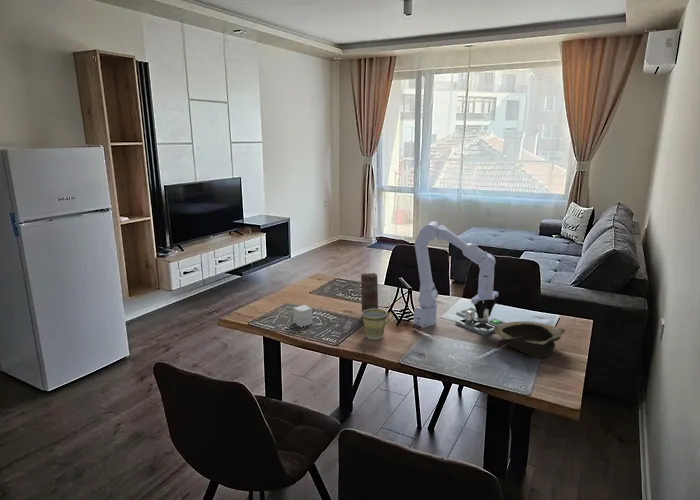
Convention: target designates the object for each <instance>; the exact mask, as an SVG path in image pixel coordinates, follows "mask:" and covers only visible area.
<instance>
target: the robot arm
mask: <svg viewBox="0 0 700 500" xmlns="http://www.w3.org/2000/svg"><path fill="white" fill-rule="evenodd" d="M434 239H436V240H438V241H441V240H446V241H447V242H449V243H450V244H451V245H452V246H455V247H456V248H458V249H460V250H461V251H462V255H463V256H464V257H466V258H467V259H469V260H470V261H471V262H473V263H474V264H475V265H478V268H479V273H478V286H477V287H478V289H477V294H476V295H474V297H472V298H471V301H470V302H471V304H473V306H474V308H476V311H477V312H476V317H477V316H478V318H481V319H483V316H484V310H485V307H488V308H489V314H488V317H491V315H492V312H493V309H494V307H495V306H496V303H498V299H497V298H498V297H499V291H496V290H494V283H495V282H494V281H495V279H494V278H495V265H496V258H495V256H494V255H493V254H491V253H488V252H487V251H484V250H482V248H480V247H478V244H477V243H472V242H466V241H464V239H462V238H461V237H459V236H458V235H456V234H455V233H454V232H453V231H451V230H450V229H448V227H446V226H445V225H444V224H441V223H439V222H438V221H436V220H432V221H430V222H428V223H427V224H425V225H423V227H422V228H421V229H420V230H419V232H418V235H417V236H416V239H415V241H414V249H415V250H414V251H415V255H416V257H415V258H416V262H417V269H418V276H419V282H420V283H419V284H420V285H419V296H418V303H419V305H418V306H417V307H415V308H414V309H413V324H414V325H416V326H418V327H421V328H427V327H431V326H434V325H437V311H438V310H437V307H438V306H437V305H438V303H437V302H436V299H437V298H438V297H439V292H438V290H437V288H436V287H435V283H434V281H433V277H432V270H431V269H432V268H431V261H430V256H429V255H430V254H429V247H428V245H429V244H430V243H431V241H433V240H434Z"/></svg>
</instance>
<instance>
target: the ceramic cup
mask: <svg viewBox="0 0 700 500" xmlns="http://www.w3.org/2000/svg"><path fill="white" fill-rule="evenodd" d="M389 315H390V316H391V315H392V317H391V318H390V319H388V316H389ZM361 316H362V321H363V326H364V331H365V336H366V337H367V339H370V340H373V341H375V340H381V339H382V338H383V336H384V332H385V327H386V325H387V324H389V322H391V321H392V320H393V319H394V313H393V312H387V311H386V310H385V309H380V308H378V309H367V310H364V311H363V312H362V311H361ZM387 319H388V320H387Z"/></svg>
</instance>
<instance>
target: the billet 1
mask: <svg viewBox="0 0 700 500" xmlns="http://www.w3.org/2000/svg"><path fill="white" fill-rule="evenodd" d="M464 314H465V317H464V318H465V323H466V324H468V325H473V324H474V322H475V317H476V312H475V311H474V310H465V312H464Z"/></svg>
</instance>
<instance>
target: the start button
mask: <svg viewBox="0 0 700 500" xmlns="http://www.w3.org/2000/svg"><path fill="white" fill-rule="evenodd" d="M491 320H492V319H491ZM499 320H500V319H497V320H492V323H493V324H496V325H498V324H500V321H501V320H500V321H499Z"/></svg>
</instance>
